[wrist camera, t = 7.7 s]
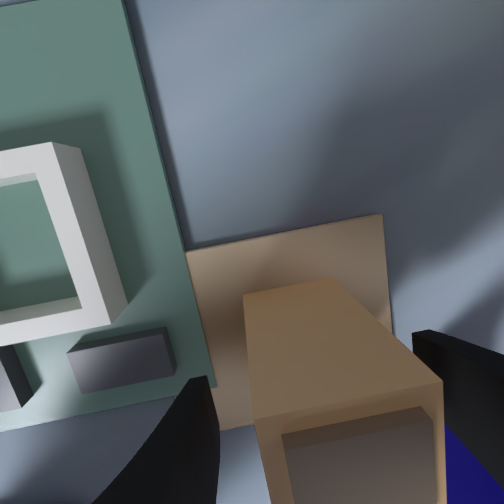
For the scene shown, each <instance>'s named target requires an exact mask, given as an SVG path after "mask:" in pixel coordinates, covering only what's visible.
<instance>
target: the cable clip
mask: <svg viewBox="0 0 504 504" xmlns="http://www.w3.org/2000/svg"><path fill="white" fill-rule="evenodd" d="M444 431H445V462H446V494H447V504H504V490H503V489H502V488H501V486H500V485H499V484H498V483H497V482H496V480H495V479H494V478H493V477H492V476H491V475H490V474H489V472H488V471H487V470H486V469H485V468H484V467H483V466H482V465H481V464H480V462H479V461H478V460H477V459H476V458H475V457H474V456H473V455H472V453H471V452H470V451H469V450H468V449H467V448H466V447H465V446H464V444H463V443H462V442H461V441H460V440H459V439H458V438H457V437H456V436H455V434H454V433H453V432H452V431H451V430H450V429H449V428H448V426H447V425H446V424H445V423H444Z"/></svg>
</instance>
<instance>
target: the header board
mask: <svg viewBox="0 0 504 504" xmlns="http://www.w3.org/2000/svg"><path fill="white" fill-rule="evenodd" d="M184 253H185V246H184V242H183V238H182V234H181V230H180V226H179V222H178V218H177V214H176V210H175V206H174V202H173V198H172V194H171V190H170V186H169V182H168V177H167V173H166V169H165V165H164V161H163V157H162V153H161V149H160V145H159V141H158V137H157V133H156V129H155V125H154V121H153V117H152V113H151V108H150V104H149V100H148V96H147V92H146V88H145V84H144V80H143V76H142V72H141V68H140V64H139V60H138V56H137V52H136V48H135V44H134V39H133V35H132V31H131V27H130V23H129V19H128V15H127V11H126V7H125V3H124V0H37V1H31V2H26V3H20V4H14V5H9V6H3V7H0V432H2V431H7V430H12V429H17V428H22V427H26V426H31V425H36V424H41V423H46V422H51V421H56V420H61V419H65V418H70V417H75V416H80V415H85V414H90V413H95V412H99V411H104V410H109V409H114V408H119V407H124V406H129V405H133V404H138V403H143V402H148V401H153V400H158V399H163V398H167V397H172V396H177V395H179V393H180V392H181V390H182V389H183V387H184V386H185V384H186V383H187V381H188V380H189V379H190V378H195V377H200V376H204V375H207V377H208V381H209V385H210V389H211V388H216V387H217V384H216V380H215V376H214V372H213V368H212V364H211V359H210V355H209V351H208V347H207V343H206V339H205V335H204V331H203V327H202V323H201V319H200V315H199V311H198V307H197V303H196V299H195V295H194V291H193V287H192V283H191V279H190V275H189V271H188V267H187V263H186V259H185V255H184Z"/></svg>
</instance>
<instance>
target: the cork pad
mask: <svg viewBox="0 0 504 504" xmlns="http://www.w3.org/2000/svg"><path fill="white" fill-rule="evenodd" d="M184 255H185V259H186V263H187V267H188V271H189V275H190V279H191V283H192V287H193V291H194V295H195V299H196V303H197V307H198V311H199V315H200V319H201V323H202V327H203V331H204V335H205V339H206V343H207V347H208V351H209V355H210V359H211V364H212V368H213V372H214V376H215V380H216V384H217V387H216V388H211V393H212V397H213V401H214V405H215V409H216V412H217V416H218V420H219V424H220V431H223V430H228V429H233V428H237V427H242V426H247V425H252V424H254V420H253V410H252V399H251V387H250V376H249V364H248V353H247V341H246V330H245V318H244V307H243V294H249V293H254V292H259V291H264V290H269V289H274V288H280V287H285V286H290V285H295V284H300V283H305V282H311V281H316V280H321V279H326V278H331V277H332V278H333V279H334V280H335V281H336V282H337V283H339V284H340V285H341V286H342V287H343V288H344V289H345V290H346V291H347V292H348V293H349V294H350V295H351V296H352V297H354V298H355V299H356V300H357V301H358V302H359V303H360V304H361V305H362V306H363V307H364V308H365V309H366V310H367V311H369V312H370V313H371V314H372V315H373V316H374V317H375V318H376V319H377V320H378V321H379V322H380V323H381V324H382V325H383V326H385V327H386V328H387V329H388V330H389V331H390V332H391V333H392V325H391V313H390V300H389V288H388V276H387V264H386V252H385V240H384V227H383V215H382V214H373V215H368V216H363V217H357V218H352V219H347V220H342V221H337V222H332V223H327V224H322V225H317V226H312V227H306V228H301V229H296V230H291V231H286V232H281V233H276V234H271V235H266V236H260V237H255V238H250V239H245V240H240V241H235V242H230V243H225V244H220V245H215V246H209V247H204V248H199V249H194V250H189V251H185V253H184Z"/></svg>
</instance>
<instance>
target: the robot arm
mask: <svg viewBox="0 0 504 504" xmlns="http://www.w3.org/2000/svg"><path fill="white" fill-rule="evenodd" d="M412 344H413V354H415V355H416V356H417V357H418V358H419V359H420V360H421V361H422V362H423V363H424V364H425V365H426V366H427V367H428V368H430V369H431V370H432V371H433V372H434V373H435V374H436V375H437V376H438V377H439V378H440V379H441V380H442V381H443V400H444V423H445V424H446V425H447V426H448V428H449V429H450V430H451V431H452V432H453V433H454V434H455V436H456V437H457V438H458V439H459V440H460V441H461V442H462V443H463V444H464V446H465V447H466V448H467V449H468V450H469V451H470V452H471V453H472V455H473V456H474V457H475V458H476V459H477V460H478V461H479V462H480V464H481V465H482V466H483V467H484V468H485V469H486V470H487V471H488V472H489V474H490V475H491V476H492V477H493V478H494V479H495V480H496V482H497V483H498V484H499V485H500V486H501V488H502V489H503V490H504V355H503V354H500V353H497V352H494V351H491V350H488V349H486V348H483V347H480V346H477V345H474V344H471V343H469V342H466V341H463V340H460V339H457V338H455V337H452V336H449V335H446V334H443V333H440V332H436V331H433V330H429V329H428V330H424V331H419V332H414V333H412ZM219 463H220V424H219V420H218V416H217V412H216V409H215V405H214V401H213V397H212V393H211V389H210V385H209V381H208V377H207V375H204V376H200V377H195V378H190V379H189V380H188V381H187V383H186V384H185V386H184V387H183V389H182V390H181V392H180V393H179V395H178V396H177V398H176V399H175V401H174V402H173V404H172V405H171V407H170V408H169V410H168V411H167V413H166V414H165V415H164V417H163V418H162V420H161V421H160V423H159V424H158V426H157V427H156V428H155V430H154V431H153V432H152V434H151V435H150V436H149V438H148V439H147V440H146V442H145V443H144V444H143V446H142V447H141V448H140V449H139V451H138V452H137V453H136V455H135V456H134V457H133V458H132V460H131V461H130V462H129V463H128V464H127V465H126V467H125V468H124V469H123V470H122V471H121V472H120V474H119V475H118V476H117V477H116V478H115V479H114V480H113V481H112V483H111V484H110V485H109V486H108V487H107V488H106V489H105V490H104V491H103V492H102V493H101V495H100V496H99V497H98V498H97V499H96V500H95V501H94V502H93V503H92V504H216V495H217V485H218V474H219Z"/></svg>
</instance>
